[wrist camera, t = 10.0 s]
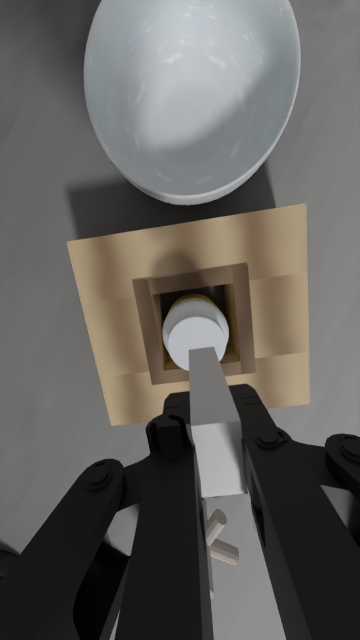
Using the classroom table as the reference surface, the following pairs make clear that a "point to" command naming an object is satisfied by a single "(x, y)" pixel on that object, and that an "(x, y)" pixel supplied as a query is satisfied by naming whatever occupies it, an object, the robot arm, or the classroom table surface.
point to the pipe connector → (217, 542)
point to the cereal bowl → (190, 91)
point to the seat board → (189, 273)
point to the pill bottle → (194, 328)
